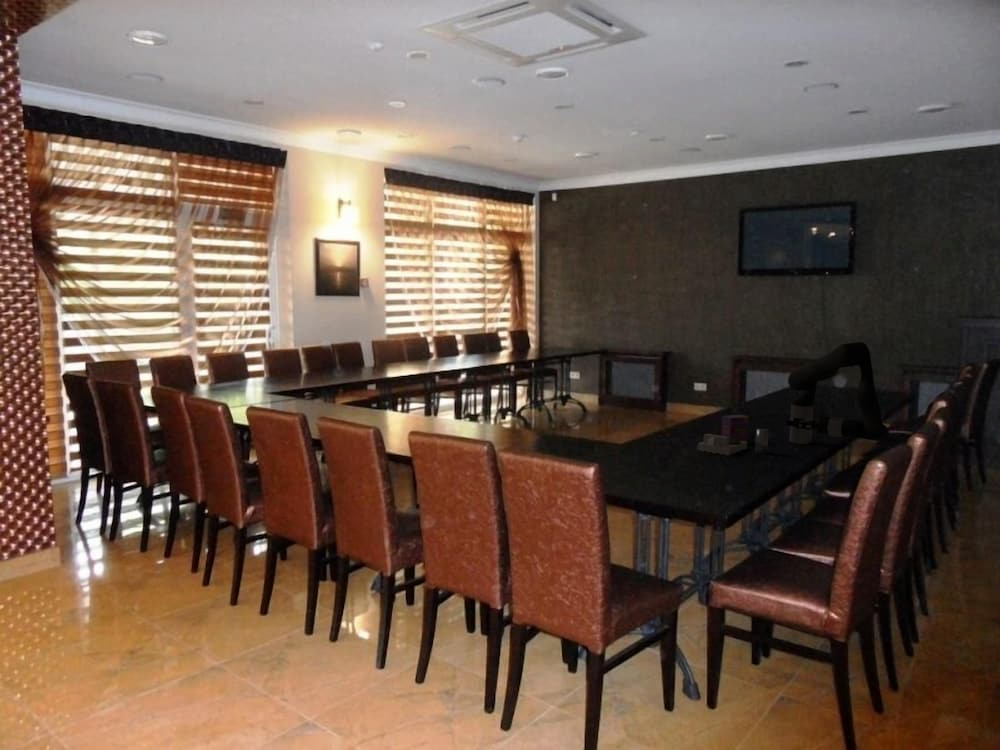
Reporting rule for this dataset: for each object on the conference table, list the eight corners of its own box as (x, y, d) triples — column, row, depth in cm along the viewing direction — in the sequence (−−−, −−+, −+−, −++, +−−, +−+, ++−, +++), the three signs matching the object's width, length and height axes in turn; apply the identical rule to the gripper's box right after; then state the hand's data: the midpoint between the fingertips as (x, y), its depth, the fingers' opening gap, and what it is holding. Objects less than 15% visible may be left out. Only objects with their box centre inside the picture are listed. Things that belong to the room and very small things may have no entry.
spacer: (757, 451, 309) (758, 428, 308) (769, 452, 306) (770, 429, 304) (753, 453, 305) (754, 429, 304) (764, 454, 302) (766, 431, 301)
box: (729, 443, 324) (730, 417, 322) (720, 441, 329) (722, 415, 328) (747, 442, 328) (749, 416, 326) (739, 439, 333) (740, 414, 331)
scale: (716, 443, 323) (716, 428, 322) (746, 448, 314) (747, 432, 313) (697, 450, 309) (698, 434, 308) (729, 455, 300) (729, 439, 299)
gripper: (837, 415, 291) (796, 410, 301) (826, 419, 280) (784, 414, 290) (836, 433, 292) (795, 428, 302) (825, 438, 281) (783, 432, 291)
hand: (790, 421), depth 296 cm, fingers open, 8 cm apart
